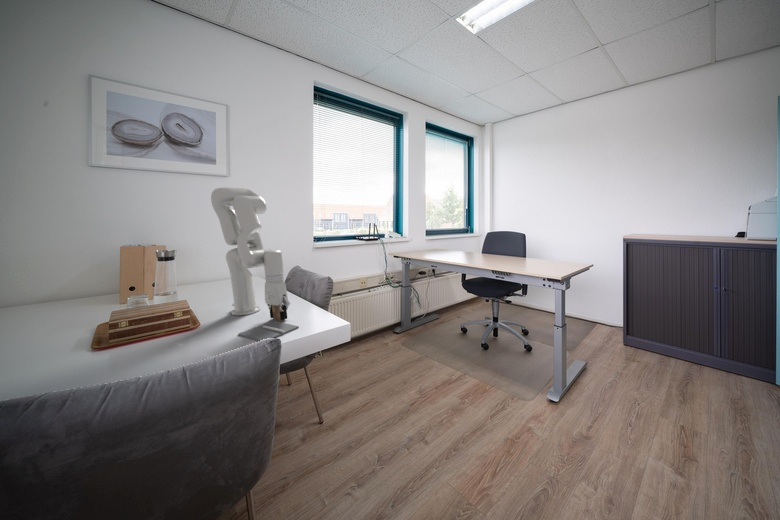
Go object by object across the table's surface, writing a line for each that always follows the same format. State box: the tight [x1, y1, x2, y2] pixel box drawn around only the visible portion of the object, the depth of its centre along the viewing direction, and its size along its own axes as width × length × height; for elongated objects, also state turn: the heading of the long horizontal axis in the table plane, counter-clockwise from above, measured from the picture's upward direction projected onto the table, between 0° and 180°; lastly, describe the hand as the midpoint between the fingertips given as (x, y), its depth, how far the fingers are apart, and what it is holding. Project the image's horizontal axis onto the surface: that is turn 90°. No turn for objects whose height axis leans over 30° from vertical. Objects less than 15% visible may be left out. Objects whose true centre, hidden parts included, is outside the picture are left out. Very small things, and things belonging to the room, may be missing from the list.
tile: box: [272, 305, 285, 322], centre depth 130 cm, size 6×2×7 cm, turn 59°
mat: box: [237, 320, 300, 342], centre depth 117 cm, size 16×16×2 cm
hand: (278, 317), depth 130 cm, fingers closed on tile, 6 cm apart
